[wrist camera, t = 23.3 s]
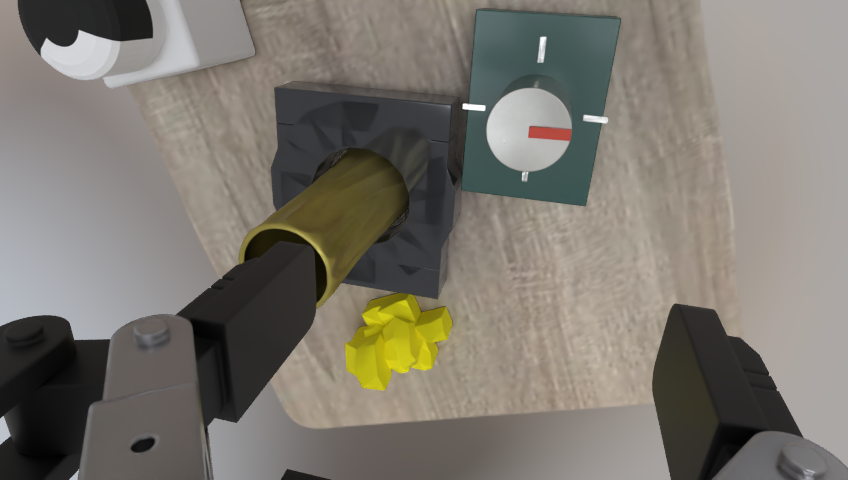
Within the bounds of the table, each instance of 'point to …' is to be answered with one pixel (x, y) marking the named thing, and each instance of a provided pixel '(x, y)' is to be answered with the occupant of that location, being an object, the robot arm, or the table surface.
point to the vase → (336, 217)
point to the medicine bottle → (135, 37)
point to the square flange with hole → (392, 139)
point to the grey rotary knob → (530, 124)
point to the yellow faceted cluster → (395, 339)
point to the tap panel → (548, 56)
